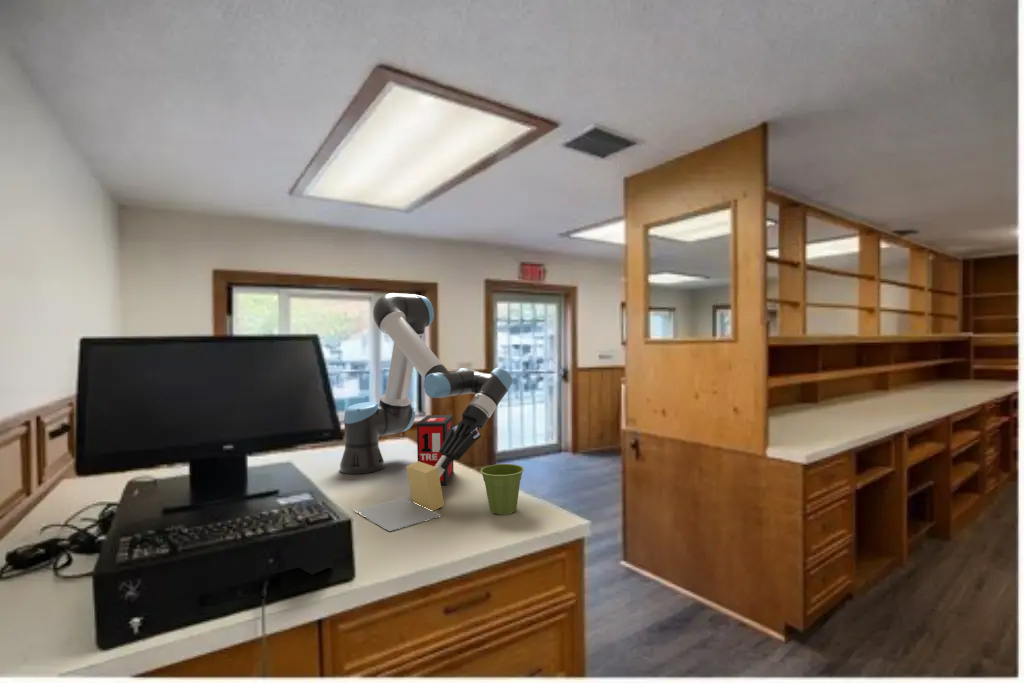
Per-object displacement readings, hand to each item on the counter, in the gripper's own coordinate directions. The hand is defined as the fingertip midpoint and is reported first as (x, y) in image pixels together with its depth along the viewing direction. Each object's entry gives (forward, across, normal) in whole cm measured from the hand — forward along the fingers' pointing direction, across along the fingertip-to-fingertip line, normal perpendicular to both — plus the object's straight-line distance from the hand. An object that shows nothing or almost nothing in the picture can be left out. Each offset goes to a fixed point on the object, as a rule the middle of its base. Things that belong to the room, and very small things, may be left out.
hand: (433, 477), depth 140 cm
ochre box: (+6, 0, +4) cm, 7 cm away
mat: (+14, 0, -3) cm, 14 cm away
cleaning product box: (-5, -20, +16) cm, 26 cm away
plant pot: (-2, +18, +13) cm, 22 cm away
